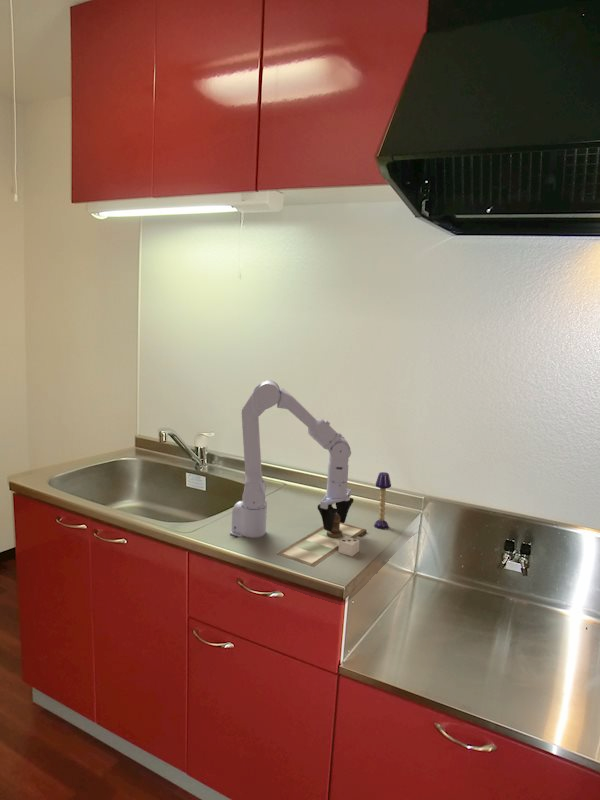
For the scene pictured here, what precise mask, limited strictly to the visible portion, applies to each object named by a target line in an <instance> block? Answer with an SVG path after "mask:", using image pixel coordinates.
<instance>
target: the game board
mask: <svg viewBox="0 0 600 800" xmlns="http://www.w3.org/2000/svg"><path fill="white" fill-rule="evenodd" d="M339 530H341V531H342V536H341V537H340V538H331V537H328V536H327V530H324V526H320V527H319V528H317V529H315V530H314V531H312V532H311V533H309V534H307V535H306V536H304V537H303V538H301V539H299V540H297V541H296V542H294V543H292V544H291V545H289V546H287V547H285V548H283V550H280V551H279V552H277V553H276V555H277V556H280V557H283V558H286V559H290V560H293V561H295V562H299V563H301V564H304V565H307V566H310V567H313V568H315V567H316V566H317V565H318V564H320V563H322V562H323V561H325V560H326V559H327V558H329V557H330V556H332V555H333V554H334V553H335V552H337V551H339V541H340V540H341V539H343V538H344V537H346V536H347V537H350V538H354V539H357V537H359V538H361V536H363V535H364V533H365V534H367V529H365V528H363V527H358V526H355V525H351V524H347V523H341V522H340V529H339Z"/></svg>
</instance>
